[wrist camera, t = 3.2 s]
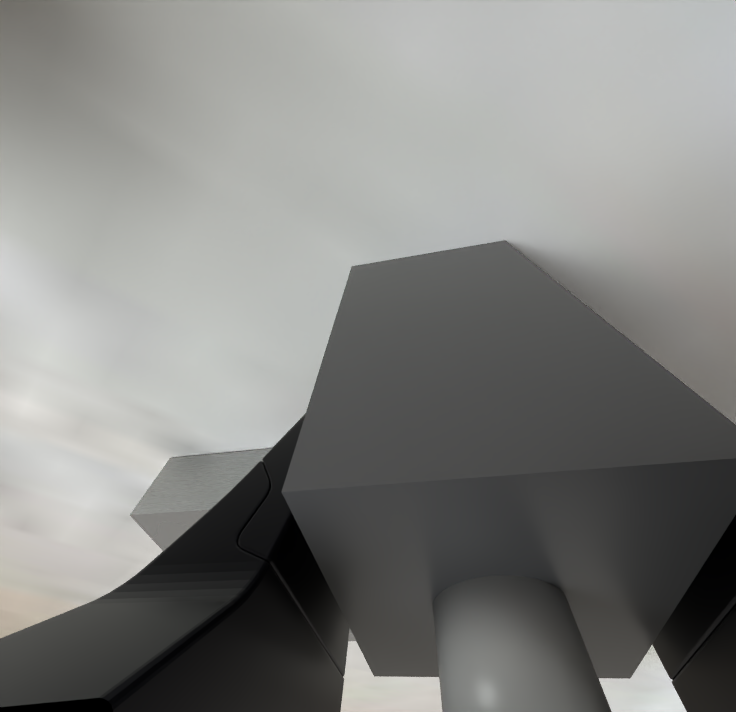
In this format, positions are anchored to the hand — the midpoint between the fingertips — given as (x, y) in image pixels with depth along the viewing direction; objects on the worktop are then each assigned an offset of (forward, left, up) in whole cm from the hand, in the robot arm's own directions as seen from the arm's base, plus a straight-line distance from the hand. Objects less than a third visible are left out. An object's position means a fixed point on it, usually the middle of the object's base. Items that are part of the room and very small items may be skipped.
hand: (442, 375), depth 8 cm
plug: (0, 0, -2) cm, 2 cm away
